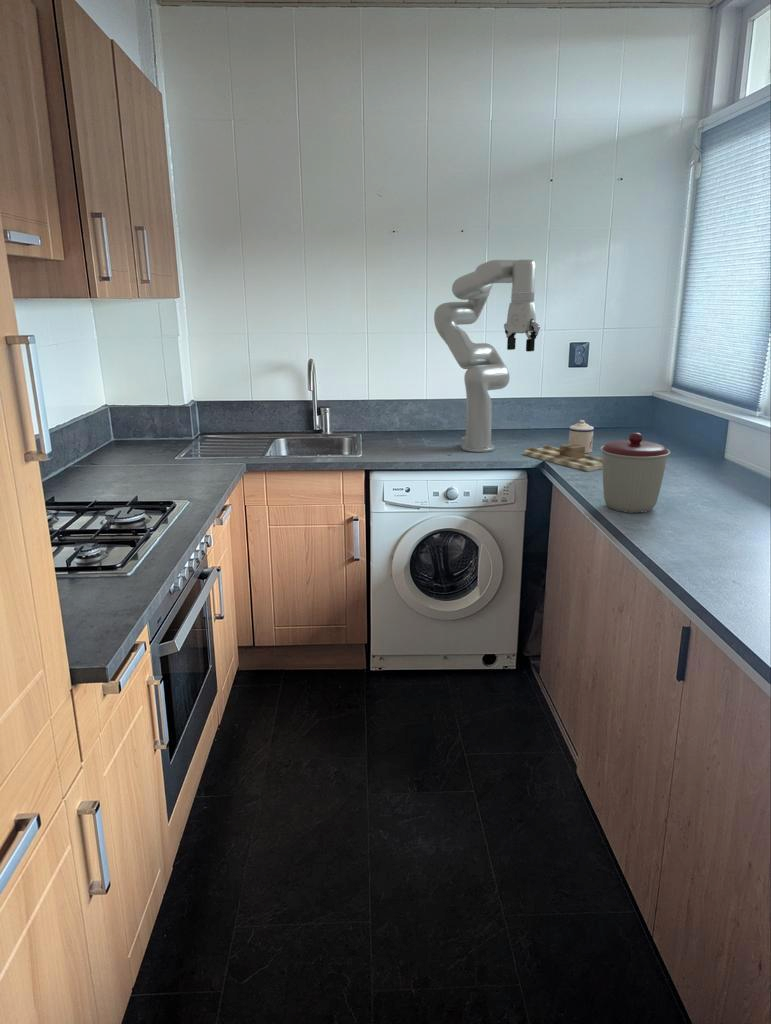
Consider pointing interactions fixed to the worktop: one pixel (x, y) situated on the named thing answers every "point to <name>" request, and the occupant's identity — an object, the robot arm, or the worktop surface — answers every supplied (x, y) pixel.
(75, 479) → the worktop surface
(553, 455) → the birch rail board
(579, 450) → the walnut slider
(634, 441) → the canister
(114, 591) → the worktop surface
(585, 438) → the teacup with lid
